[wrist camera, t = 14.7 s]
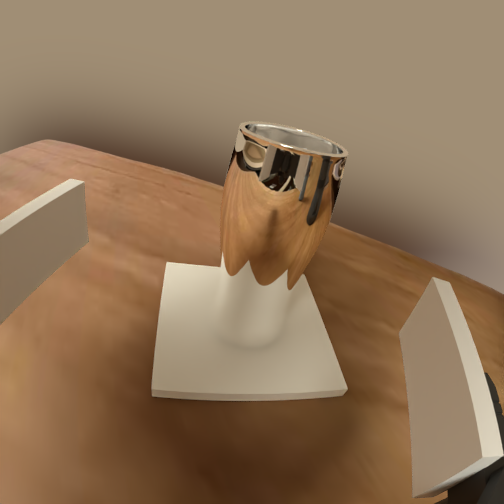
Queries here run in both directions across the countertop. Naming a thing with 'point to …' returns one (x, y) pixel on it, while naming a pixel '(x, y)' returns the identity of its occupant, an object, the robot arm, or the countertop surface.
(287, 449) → the countertop surface
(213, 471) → the countertop surface
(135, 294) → the countertop surface
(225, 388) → the mat
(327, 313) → the countertop surface
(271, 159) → the beer glass
